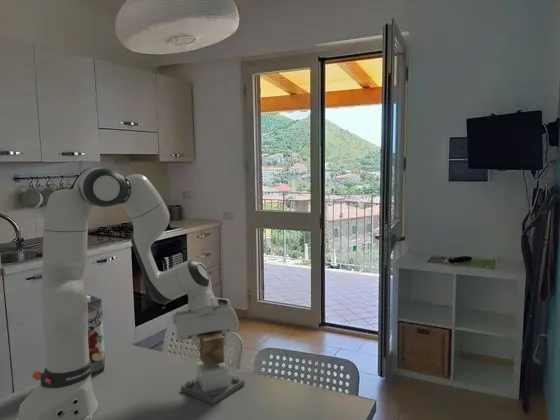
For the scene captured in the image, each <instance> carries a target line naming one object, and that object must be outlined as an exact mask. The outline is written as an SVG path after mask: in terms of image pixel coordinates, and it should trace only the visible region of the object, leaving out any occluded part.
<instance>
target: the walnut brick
mask: <svg viewBox="0 0 560 420" xmlns="http://www.w3.org/2000/svg"><path fill="white" fill-rule="evenodd" d="M223 337H224V336H222V335H221V334H220V333H219V332H218V331H215V332H210V333H204V334H199V343H202V346H203V349H202V350H201V351H199V357H200V362H201V361H202V362H203V364H204V366H209V365H214V364H219V363H224V362H225V354H224V353H225V352H224V351H225V350H224V347H225V346H223Z"/></svg>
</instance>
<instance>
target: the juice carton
mask: <svg viewBox="0 0 560 420" xmlns="http://www.w3.org/2000/svg"><path fill="white" fill-rule="evenodd" d="M86 296H87V300H88V347H89V358H90V360H91V367H92V376H93V375H96V374H99V373H101V372H104V371H105V366H106V365H105V364H106V351H105V335H104V318H103V315H104V314H103V304H102V299H101V298H99V297H97V296H94V295H91V294H90V295H86Z"/></svg>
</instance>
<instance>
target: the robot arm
mask: <svg viewBox="0 0 560 420" xmlns="http://www.w3.org/2000/svg"><path fill="white" fill-rule="evenodd" d="M47 199H48V200H47V204H46V208H45V211H44V213H45V214H44V220H43V239H42V240H43V241H42V242H43V243H42V265H41V266H42V267H41V285H40V286H41V289H40V299H41V312H42V325H43V338H44V339H43V340H44V352H45V366H46V367H45V368H44V370H43V372H40V371H39V370H36V371H34V372H33V373H32V375H31V376H32V379H35V380H36V381H40V383H39V384H38V385H37V387H35V388H34V390H33V391H32V392H31V393H30V394H29V395H28V396H27V397H26V398H25V399H24V400H23V401H22V402H21V403H20V405H19V408H18V412H17V418H16V419H15V420H93V419H94V417H93V416H94V414H95V412H97V411H98V408H99V402H98V399H97V397H96V394H95V391H94V388H93V387H94V386H93V381H92V377H93V375H92V367H91V360H90V358H89V347H88V300H87V296H88V295H87V294H86V291H85V285H84V284H85V274H86V273H85V271H86V264H87V263H86V262H87V257H88V234H89V232H88V230H89V221H88V220H89V215H90V213H91V211H92V209H93V208H95V207H99V208H100V207H101V208H109V207H113V206H117V205H121V207H122V208H123V209H124V210H125V212H126V214H127V215H128V218H129V219H130V220H131V223H132V227H133V232H132V233H131V235H130V240H131V241H130V242H131V246H132V248H133V252H134V254H135V257H136V260H137V262H138V265H139V267H140V269H141V273H142V275H143V277H144V279H145V283H146V286H147V289H148V294H149V296H150V298H151V300H152V301H153V302H156V303H158V304H161V305H167V304H169V303H171V302H173V301H175V300H176V299H178V298H181V297H182V296H183V297H184V296H186V295H187V297H188V299H187V300H188V301H187V302H188V303H187V304H188V307H189V309H188V310H183V311H176V313H174V314H173V315H172V323H173V325H174V327H175V330H174V332H175V338H176V340H178V341H179V342H182V341H186V340H191V342H192V344H193V345H194V346H195V347H196V350H197V352H200V351H201V350H202V349H203V346H202V343H200V341H198V340H197V339H200V337H199V334H204V333H210V332H215V331H218V332H219V333H220V334H221V336H222V337H223V347H226V346H227V342H226V338H227V335H228V333H235V332H237V330H238V329H239V327H240V321H239V319H238V314H237V313H236V310H235V309H234V307H232V305H231V304H232V303H231V300H230V299H228V298H220V297H216V296H215V294H214V293H213V284H212V281H211V277H210V275H209V272H208V270H207V267H206V266H205V265H204V264H203V263H202V262H200V261H196V260H192V259H189V260H186V261H184V262H181V263H179V264H177V265H175V266H173V267H171V268H169V269H166V270H165V271H161V270H159V269H158V266H157V263H156V261H155V259H154V256H153V252H152V250H151V247H152V245H153V244H154V243H155V242H156V241H157V240H158V239H159V238H160V236H161V235H163V233H164V232H165V231H166V229H167V227H168V225H169V222H170V217H171V215H170V211H169V209H168V207H167V205H166V203H165V201H164V200H163V198H162V196H161V194H160V193H159V192H158V190H157V189H156V187H155V186H154V185H153V183H151V181H150V180H149V179H148V177H146V176H145V175H143V174H141V173H133V174H130V175H127V176H123V175H122V174H121V173H119V172H117V171H115V170H113V169H110V168H107V167H105V166H93V167H88V168H86V169H84V170H83V171H81V172H80V173H79V174H78V175H77V177H76V179H75V180H74V182H73V183H72V185H71V186H70V188H69V189H67V188H66V189H65V188H64V189H58V190H56V191H54V192H52V193H51V194H50V195H49V197H48V198H47Z"/></svg>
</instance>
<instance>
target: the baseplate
mask: <svg viewBox="0 0 560 420" xmlns="http://www.w3.org/2000/svg"><path fill="white" fill-rule="evenodd" d="M196 376H197V377H195V378H193V379H191V380H188V381H186V383H184V384H182V385H181V386H180V391H181V392H183V393H185V394H187V395H190V396H193V397H194V398H197V399H200V400H201V401H204V402H207V403H208V404H211V405H215V404H216V403H218V402H219V401H221V400H223V399H224V398H226V397H228V396H230V395H231V394H232V393H234V392H235V391H237V390H238V389H241V388H243V386H245V379H241V378H239V376H232V375H230V373H229V367H228V365H227V363H226V362H225V361H224V363H219V364H214V365H209V366H204V364H203V362H202V361H201V360H200V361H197V362H196Z"/></svg>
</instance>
